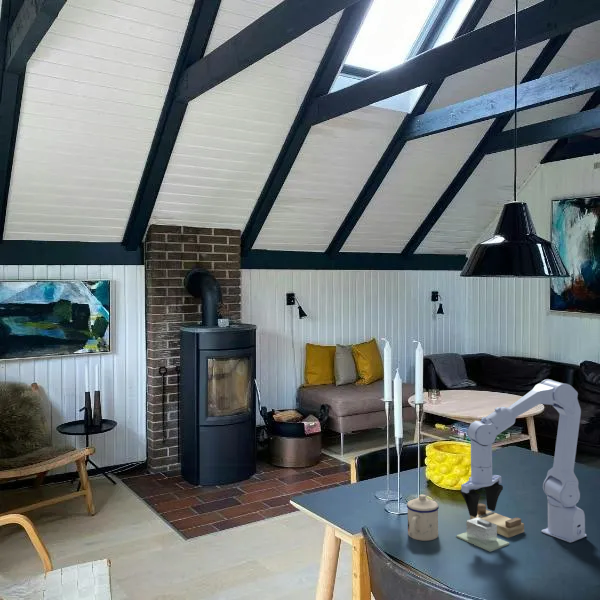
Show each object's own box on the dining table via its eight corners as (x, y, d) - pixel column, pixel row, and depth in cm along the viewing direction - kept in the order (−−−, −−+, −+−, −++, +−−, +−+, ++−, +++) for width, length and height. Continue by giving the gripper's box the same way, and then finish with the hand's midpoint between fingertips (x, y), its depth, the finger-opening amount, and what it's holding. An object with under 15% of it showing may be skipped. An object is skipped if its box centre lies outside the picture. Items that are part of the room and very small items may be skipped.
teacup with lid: (414, 526, 187) (413, 488, 186) (443, 532, 182) (443, 493, 181) (397, 541, 177) (397, 500, 176) (428, 548, 172) (427, 506, 171)
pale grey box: (497, 540, 174) (496, 522, 174) (486, 544, 172) (485, 526, 172) (477, 532, 180) (477, 514, 180) (466, 536, 178) (466, 518, 177)
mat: (509, 544, 173) (509, 542, 173) (490, 551, 169) (490, 549, 169) (475, 530, 183) (475, 528, 183) (456, 537, 179) (456, 535, 179)
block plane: (524, 531, 181) (523, 515, 181) (508, 537, 177) (508, 520, 177) (485, 517, 193) (485, 501, 193) (470, 522, 189) (470, 506, 189)
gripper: (487, 457, 182) (488, 503, 183) (452, 466, 174) (453, 514, 175) (507, 462, 177) (507, 510, 177) (472, 472, 169) (473, 522, 169)
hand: (482, 512), depth 176 cm, fingers open, 7 cm apart
